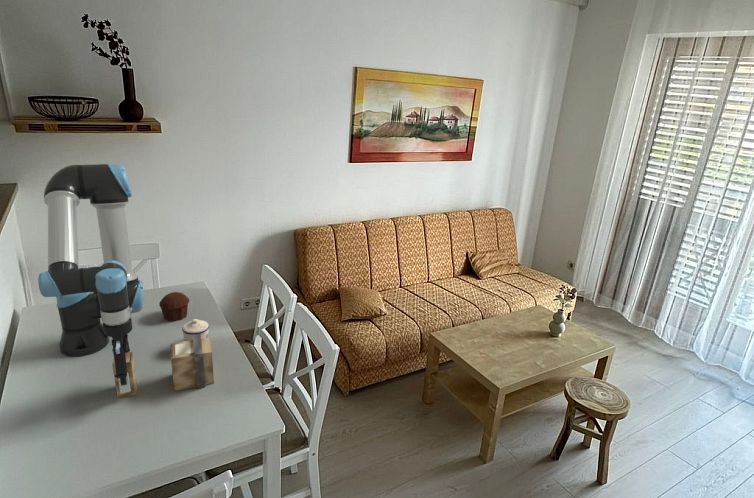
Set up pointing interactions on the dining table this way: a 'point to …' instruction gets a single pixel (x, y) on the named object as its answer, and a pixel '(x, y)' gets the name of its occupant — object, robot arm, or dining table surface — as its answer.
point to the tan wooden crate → (192, 363)
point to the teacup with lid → (195, 329)
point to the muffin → (174, 306)
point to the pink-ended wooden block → (130, 373)
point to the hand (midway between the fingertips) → (126, 383)
